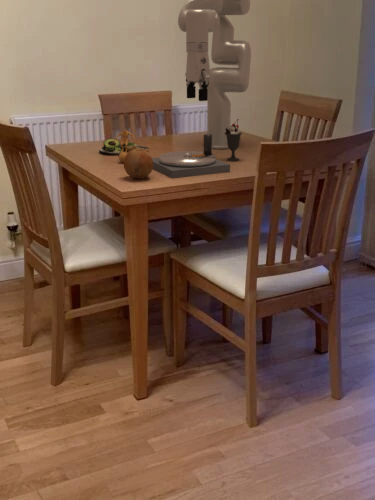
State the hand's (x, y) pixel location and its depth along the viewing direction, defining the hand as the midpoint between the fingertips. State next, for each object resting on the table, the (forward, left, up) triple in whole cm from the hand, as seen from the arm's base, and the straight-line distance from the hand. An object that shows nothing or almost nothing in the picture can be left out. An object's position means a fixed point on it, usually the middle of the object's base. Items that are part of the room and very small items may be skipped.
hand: (196, 99), depth 224 cm
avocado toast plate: (+15, -37, -24) cm, 47 cm away
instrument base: (+5, +3, -23) cm, 24 cm away
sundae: (-17, -3, -24) cm, 29 cm away
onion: (+26, +9, -24) cm, 37 cm away
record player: (+5, +3, -21) cm, 22 cm away
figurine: (+21, -17, -24) cm, 36 cm away
